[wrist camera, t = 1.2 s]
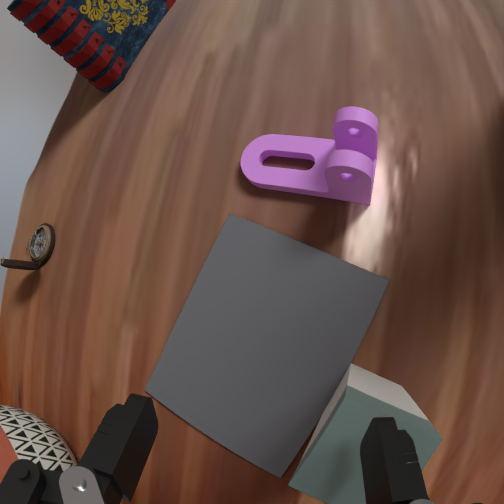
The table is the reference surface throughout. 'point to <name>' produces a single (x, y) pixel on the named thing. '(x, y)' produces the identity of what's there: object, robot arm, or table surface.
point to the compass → (35, 249)
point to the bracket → (321, 159)
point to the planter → (31, 442)
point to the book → (94, 32)
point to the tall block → (357, 436)
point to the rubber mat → (264, 342)
